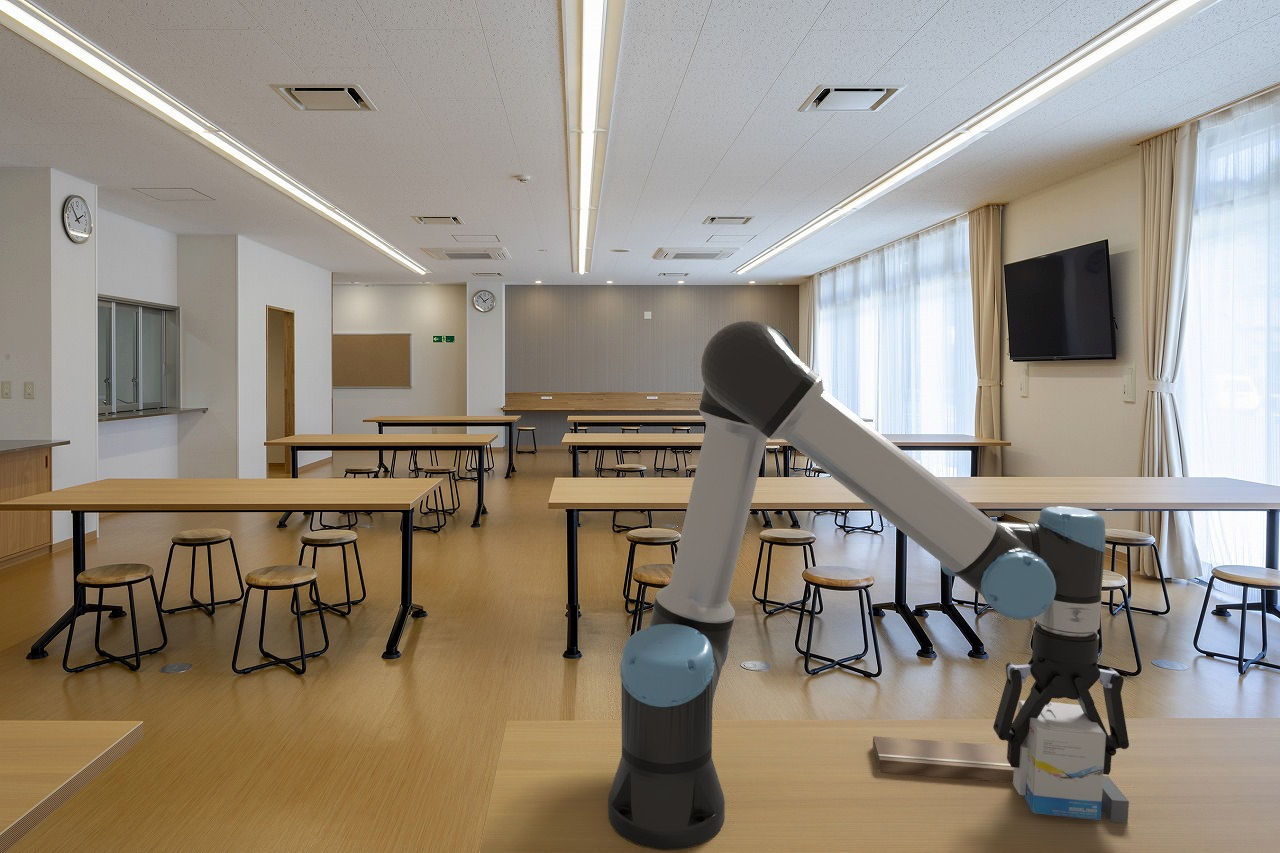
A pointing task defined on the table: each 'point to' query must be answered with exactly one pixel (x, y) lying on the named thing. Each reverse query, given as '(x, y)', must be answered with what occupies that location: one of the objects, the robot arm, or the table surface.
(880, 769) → the board
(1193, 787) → the table surface
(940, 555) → the robot arm
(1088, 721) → the ink box
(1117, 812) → the block
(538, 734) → the table surface
